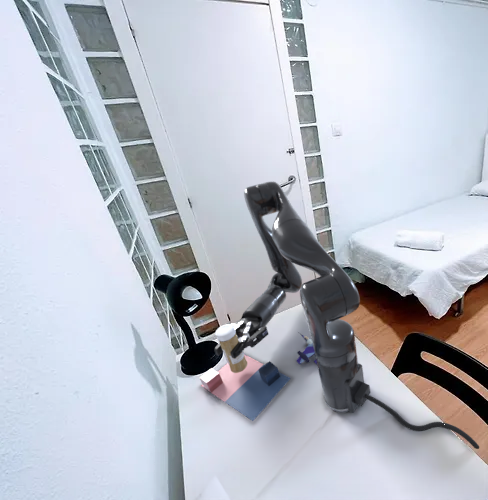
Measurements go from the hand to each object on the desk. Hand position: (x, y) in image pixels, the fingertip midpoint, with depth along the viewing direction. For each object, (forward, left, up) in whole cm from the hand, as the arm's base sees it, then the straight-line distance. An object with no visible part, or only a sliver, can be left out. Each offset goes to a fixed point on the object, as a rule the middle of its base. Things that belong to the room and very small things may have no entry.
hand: (224, 354), depth 71 cm
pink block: (+5, +4, -10) cm, 11 cm away
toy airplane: (-13, -18, -10) cm, 25 cm away
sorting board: (-3, -1, -10) cm, 11 cm away
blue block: (-8, -5, -10) cm, 14 cm away
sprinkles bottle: (+1, -3, -8) cm, 8 cm away
